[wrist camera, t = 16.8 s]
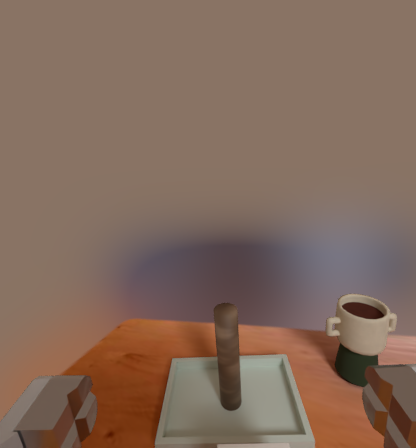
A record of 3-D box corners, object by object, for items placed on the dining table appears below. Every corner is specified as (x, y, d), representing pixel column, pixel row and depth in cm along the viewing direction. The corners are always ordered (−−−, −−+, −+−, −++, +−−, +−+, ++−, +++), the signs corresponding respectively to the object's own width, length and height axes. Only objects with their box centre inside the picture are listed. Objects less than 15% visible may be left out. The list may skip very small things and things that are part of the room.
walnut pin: (220, 411, 38) (213, 317, 34) (220, 391, 41) (213, 303, 37) (242, 410, 38) (238, 316, 34) (240, 391, 41) (236, 302, 37)
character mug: (374, 354, 47) (383, 290, 43) (403, 389, 40) (416, 317, 37) (314, 359, 47) (317, 295, 43) (333, 395, 40) (338, 323, 37)
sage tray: (157, 458, 34) (154, 444, 33) (174, 369, 47) (172, 358, 47) (314, 455, 33) (315, 441, 32) (286, 365, 46) (286, 354, 45)
